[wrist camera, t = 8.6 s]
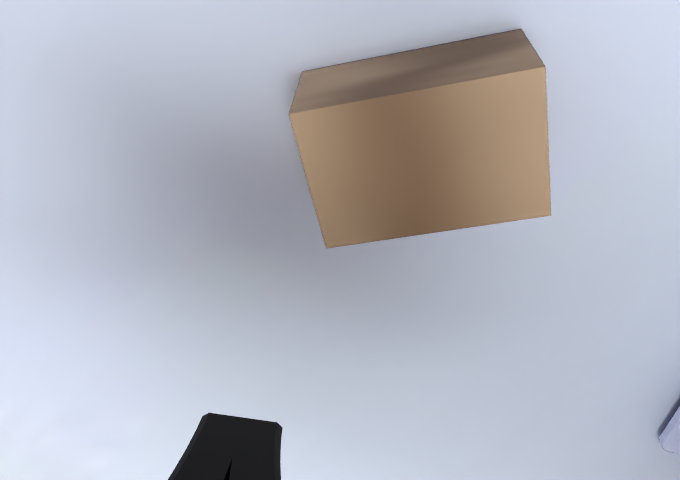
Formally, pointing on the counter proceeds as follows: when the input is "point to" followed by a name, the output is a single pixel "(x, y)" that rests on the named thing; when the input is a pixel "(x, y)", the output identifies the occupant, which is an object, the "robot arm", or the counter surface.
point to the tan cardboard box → (426, 139)
